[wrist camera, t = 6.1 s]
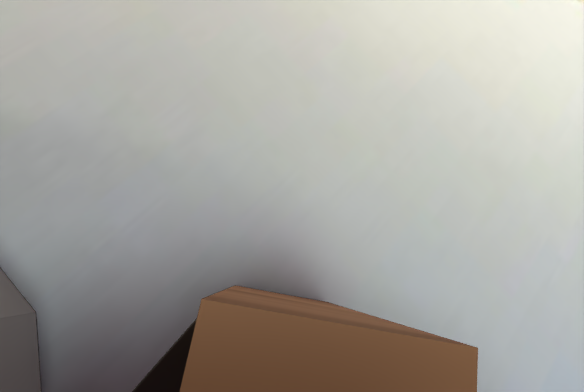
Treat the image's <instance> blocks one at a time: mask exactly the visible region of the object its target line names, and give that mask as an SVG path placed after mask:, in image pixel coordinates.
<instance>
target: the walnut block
mask: <svg viewBox="0 0 584 392" xmlns="http://www.w3.org/2000/svg"><path fill="white" fill-rule="evenodd" d="M477 361H478V348H476V347H473V346H470V345H467V344H463V343H460V342H457V341H453V340H450V339H447V338H444V337H440V336H437V335H434V334H430V333H427V332H424V331H421V330H417V329H414V328H411V327H407V326H404V325H401V324H397V323H394V322H391V321H388V320H384V319H381V318H378V317H374V316H371V315H368V314H365V313H361V312H358V311H355V310H351V309H348V308H345V307H342V306H338V305H335V304H332V303H328V302H323V301H318V300H312V299H307V298H301V297H296V296H290V295H285V294H279V293H274V292H268V291H263V290H257V289H252V288H246V287H241V286H233V287H230V288H228V289H225V290H223V291H220V292H218V293H215V294H213V295H210V296H208V297H205V298H203V299H201V304H200V308H199V312H198V316H197V320H196V325H195V329H194V333H193V337H192V342H191V346H190V350H189V354H188V358H187V363H186V367H185V371H184V375H183V379H182V384H181V388H180V392H477Z"/></svg>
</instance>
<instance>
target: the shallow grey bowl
mask: <svg viewBox="0 0 584 392" xmlns="http://www.w3.org/2000/svg"><path fill="white" fill-rule="evenodd" d="M0 392H41V383H40V368H39V354H38V339H37V324H36V312H35V311H34V310H33V308H32V307H31V306H30V305H29V303H28V302H27V301H26V300H25V298H24V297H23V296H22V295H21V293H20V292H19V291H18V290H17V289H16V287H15V286H14V285H13V284H12V282H11V281H10V280H9V279H8V277H7V276H6V275H5V274H4V272H3V271H2V270H1V269H0Z"/></svg>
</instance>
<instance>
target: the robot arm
mask: <svg viewBox="0 0 584 392" xmlns="http://www.w3.org/2000/svg"><path fill="white" fill-rule="evenodd" d="M196 320H197V319H196ZM196 320H195V321H194V322H193V323H192V324H191V326H190V327H189V328H188V329H187V330H186V331H185V332H184V333H183V335H182V336H181V337H180V338H179V339H178V340H177V341H176V343H175V344H174V345H173V346H172V347H171V348H170V349H169V350H168V352H167V353H166V354H165V355H164V356H163V357H162V358H161V360H160V361H159V362H158V363H157V364H156V365H155V366H154V367H153V369H152V370H151V371H150V372H149V373H148V374H147V375H146V376H145V378H144V379H143V380H142V381H141V382H140V383H139V384H138V386H137V387H136V388H135V389H134V390H133V391H132V392H180V388H181V384H182V379H183V375H184V371H185V367H186V363H187V358H188V354H189V350H190V346H191V342H192V337H193V333H194V329H195V325H196Z"/></svg>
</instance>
